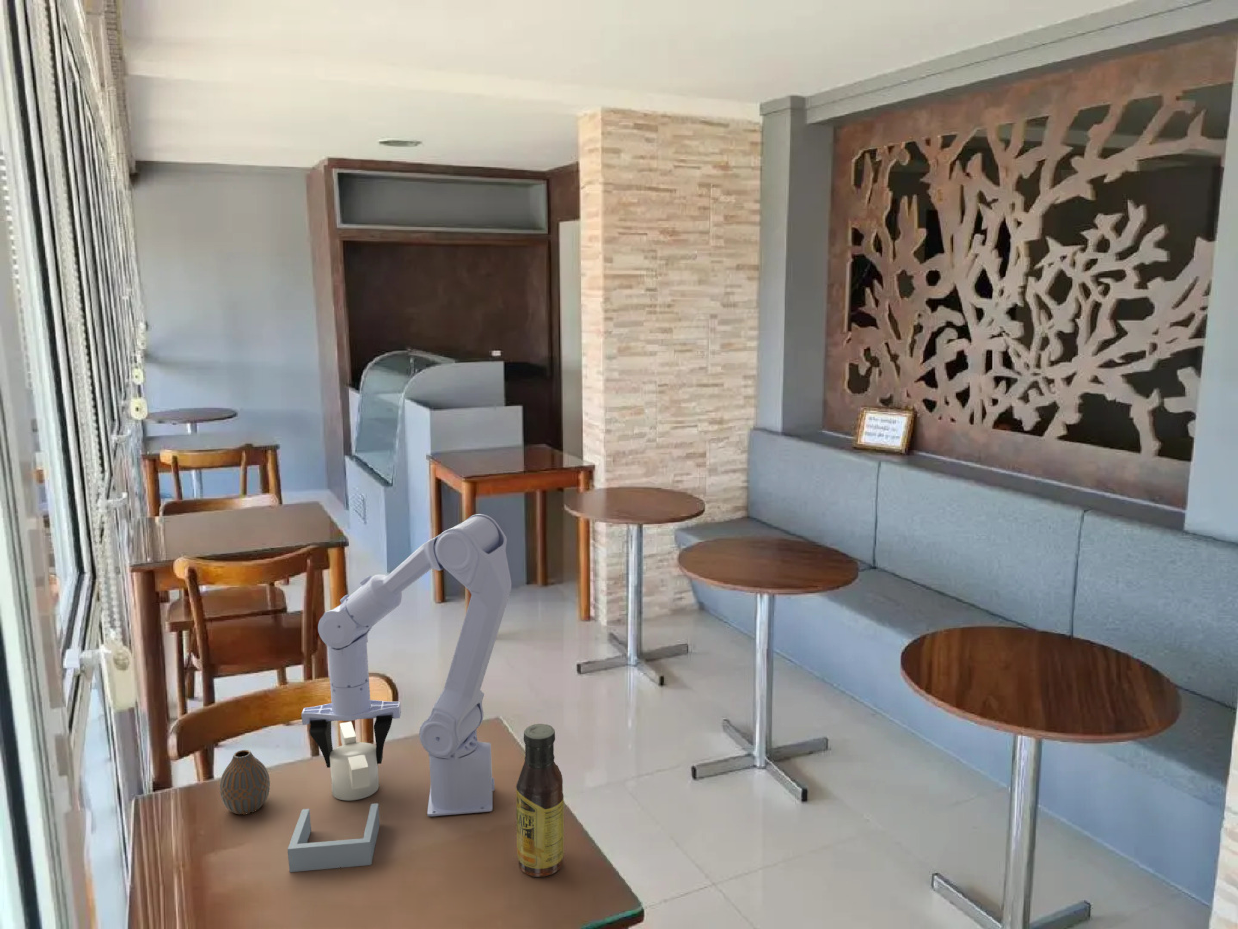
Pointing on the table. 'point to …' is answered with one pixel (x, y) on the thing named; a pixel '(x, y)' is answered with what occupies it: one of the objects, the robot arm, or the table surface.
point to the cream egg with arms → (353, 767)
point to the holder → (331, 846)
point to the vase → (244, 783)
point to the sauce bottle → (540, 805)
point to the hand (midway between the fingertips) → (355, 762)
